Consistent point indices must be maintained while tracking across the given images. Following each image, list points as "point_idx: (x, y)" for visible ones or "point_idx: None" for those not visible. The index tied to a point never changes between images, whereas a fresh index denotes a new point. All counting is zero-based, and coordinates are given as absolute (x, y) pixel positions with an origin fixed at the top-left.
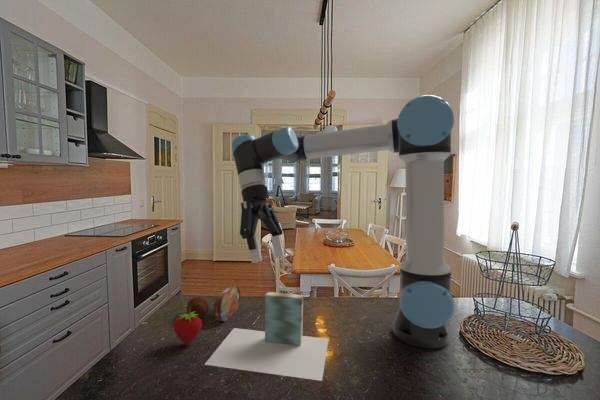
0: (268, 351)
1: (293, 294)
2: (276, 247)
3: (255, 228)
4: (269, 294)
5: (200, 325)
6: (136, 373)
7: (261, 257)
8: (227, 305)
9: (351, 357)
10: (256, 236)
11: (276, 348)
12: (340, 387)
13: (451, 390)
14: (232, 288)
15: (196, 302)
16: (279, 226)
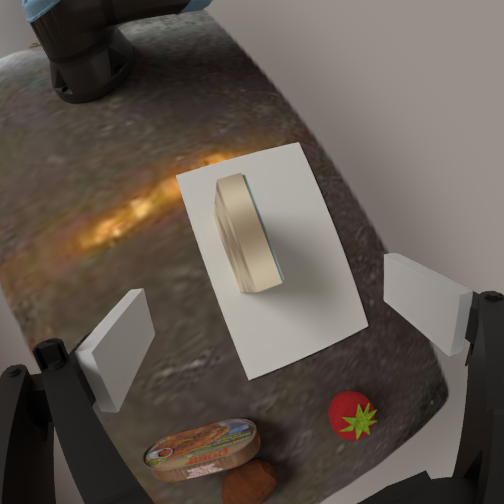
0: (282, 257)
1: (229, 207)
2: (132, 344)
3: (490, 322)
4: (273, 273)
5: (346, 394)
6: (412, 386)
7: (392, 257)
8: (213, 441)
9: (209, 126)
10: (463, 292)
11: None
12: (289, 121)
13: (218, 30)
14: (183, 466)
15: (268, 485)
16: (5, 396)
